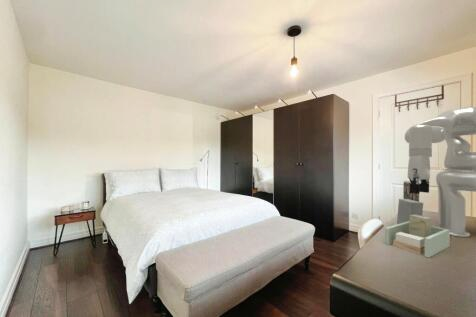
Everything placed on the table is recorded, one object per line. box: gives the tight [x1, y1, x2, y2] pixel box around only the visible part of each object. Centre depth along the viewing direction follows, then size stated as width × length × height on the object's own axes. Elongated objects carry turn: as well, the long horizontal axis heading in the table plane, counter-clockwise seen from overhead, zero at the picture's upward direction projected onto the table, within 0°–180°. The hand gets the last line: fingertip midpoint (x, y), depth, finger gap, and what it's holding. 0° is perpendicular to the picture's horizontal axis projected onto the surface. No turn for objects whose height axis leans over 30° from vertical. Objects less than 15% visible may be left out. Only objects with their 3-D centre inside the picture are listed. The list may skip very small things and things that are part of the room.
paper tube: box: [402, 180, 420, 202], centre depth 116 cm, size 7×7×25 cm
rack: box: [384, 221, 451, 258], centre depth 88 cm, size 22×14×7 cm, turn 120°
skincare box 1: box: [396, 198, 424, 225], centre depth 108 cm, size 8×7×16 cm
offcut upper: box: [396, 232, 424, 247], centre depth 84 cm, size 5×8×3 cm, turn 30°
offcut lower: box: [392, 239, 425, 255], centre depth 84 cm, size 5×9×3 cm, turn 30°
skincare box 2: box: [409, 214, 432, 245], centre depth 90 cm, size 6×4×12 cm
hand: (419, 192), depth 90 cm, fingers open, 9 cm apart
